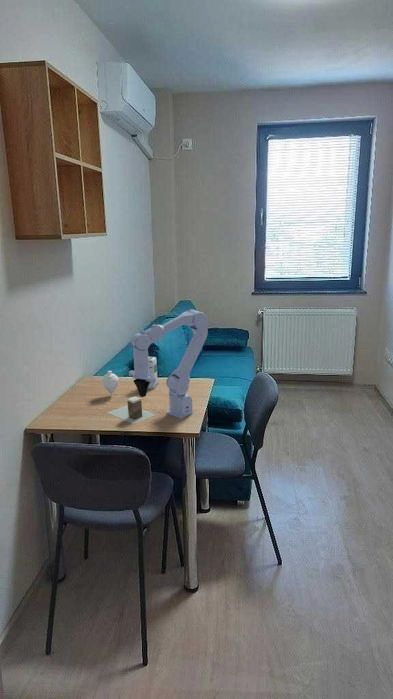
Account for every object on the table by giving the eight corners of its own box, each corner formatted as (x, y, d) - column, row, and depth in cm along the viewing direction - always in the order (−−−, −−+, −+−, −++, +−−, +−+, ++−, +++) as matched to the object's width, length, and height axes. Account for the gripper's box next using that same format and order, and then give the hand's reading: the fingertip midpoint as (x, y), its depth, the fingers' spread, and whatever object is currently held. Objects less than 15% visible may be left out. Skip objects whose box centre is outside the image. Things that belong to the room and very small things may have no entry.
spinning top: (102, 393, 216) (100, 369, 212) (118, 391, 218) (116, 367, 215) (104, 399, 209) (102, 374, 205) (121, 397, 211) (119, 372, 208)
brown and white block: (142, 416, 187) (141, 398, 185) (134, 419, 185) (133, 401, 183) (136, 414, 190) (134, 396, 188) (128, 417, 187) (127, 398, 185)
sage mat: (156, 415, 189) (156, 414, 189) (133, 425, 181) (133, 424, 181) (129, 405, 201) (129, 404, 201) (107, 413, 193) (106, 412, 193)
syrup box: (155, 388, 220) (153, 360, 217) (143, 388, 222) (141, 359, 218) (158, 384, 226) (156, 356, 222) (147, 384, 227) (145, 356, 223)
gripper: (122, 362, 181) (124, 394, 184) (145, 369, 171) (146, 403, 174) (136, 358, 186) (137, 390, 189) (159, 365, 176) (160, 398, 179)
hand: (143, 396), depth 182 cm, fingers closed
